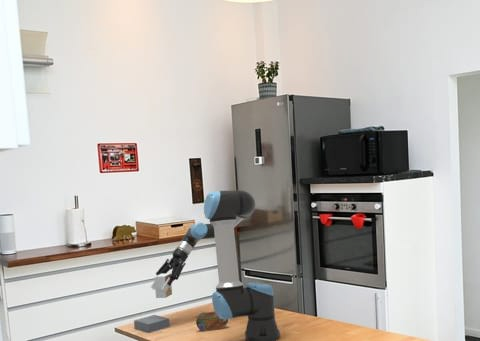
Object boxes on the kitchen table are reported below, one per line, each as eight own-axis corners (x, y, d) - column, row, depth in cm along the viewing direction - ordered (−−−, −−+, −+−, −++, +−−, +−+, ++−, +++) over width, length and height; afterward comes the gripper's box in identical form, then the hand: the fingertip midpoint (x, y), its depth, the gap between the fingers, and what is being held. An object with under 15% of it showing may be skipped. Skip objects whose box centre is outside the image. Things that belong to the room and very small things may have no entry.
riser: (169, 326, 233) (169, 318, 233) (148, 332, 224) (148, 324, 225) (154, 322, 241) (154, 314, 242) (134, 328, 233) (134, 320, 233)
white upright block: (166, 298, 232) (165, 276, 233) (155, 298, 234) (154, 276, 234) (172, 294, 240) (171, 273, 241) (162, 294, 242) (160, 273, 242)
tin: (197, 332, 221) (196, 314, 222) (195, 330, 224) (194, 312, 225) (228, 328, 225) (227, 310, 226) (227, 326, 228) (226, 308, 229)
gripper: (199, 257, 240) (175, 296, 229) (174, 255, 256) (150, 291, 244) (190, 248, 237) (166, 287, 225) (165, 246, 252) (141, 282, 241)
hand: (158, 289), depth 235 cm, fingers closed on white upright block, 9 cm apart
